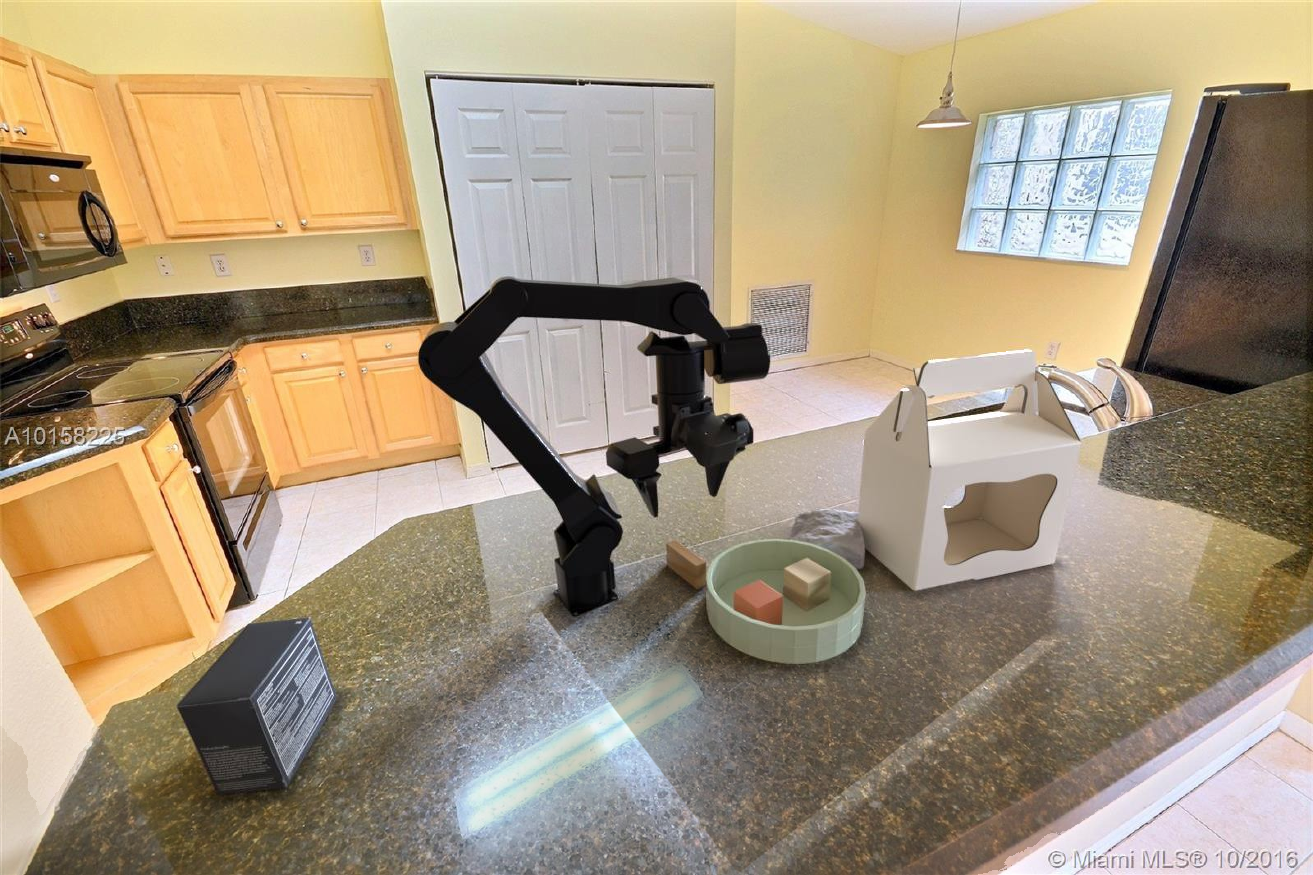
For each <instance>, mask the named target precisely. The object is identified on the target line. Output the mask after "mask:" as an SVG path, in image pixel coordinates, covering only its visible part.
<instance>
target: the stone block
mask: <svg viewBox="0 0 1313 875" xmlns="http://www.w3.org/2000/svg"><path fill="white" fill-rule="evenodd" d="M857 519H858V511H847V510H841V509H839V510H838V509H834V508H831V509H830V508H824V509H823V508H818V509H812V510H808V511H804V512H803V513H799V514H798V515H797V516H795V518H794V523H793V526H792V528H791V531H790V537H789V540H796V541H801V542H806V543H810V544H814V545H817V546H819V547H822V548H825V549H828V550H830V551H832V552H834V553H835V554H837V555H839V556H841V557H843V558H844V559H846V560H847V561H848V562H849V563H850V564H851V565H853V566H854V567H855V568H856V569H857V570H862V569H864V567H865V556H866V554H865V553H866V548H865V544H864V537H863V532H862V529H861V527H860V523H859V522H858V521H857Z"/></svg>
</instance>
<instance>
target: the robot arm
mask: <svg viewBox="0 0 1313 875" xmlns="http://www.w3.org/2000/svg"><path fill="white" fill-rule="evenodd" d="M710 307H711V302H710V298H709V296H708V293H707V292H706V291H705V289H704V288H703V286H701V285H700V284H698V283H695V282H692V281H687V280H684V279H681V278H676V277H664V278H657V279H649V280H642V281H638V282H633V283H626V284H608V283H607V284H606V283H588V282H574V281H573V282H571V281H570V282H569V281H556V280H554V281H553V280H535V279H522V278H521V279H520V278H517V277H514V276H501V277H500V278H499V277H498V278H497V279H495V281H494V282H493V283H492V284H491V286H490V288H489V289H488V290H487V291H486V292H484V294H482V296H480V297H479V298H478V299H477V300H475V302H473V303H472V304H471V305H470V306H469V307H467V308H466V309H465V310H464V311H463V312H461V314H460V315H459V316H458V317H457V318H456V319H454V321H445V322H440V323H438V324H436V325H434V326H433V327H432V328H431V329H430V330H429V331H428V332H427V334H426V335H425V337H424V339H423V340H422V342H421V345H420V346H419V349H418V356H417V362H418V367H419V369H420V371H421V372H422V374H423V376H424V377H425V378H426V379H428V381H429V382H431V383H432V384H433V385H434V386H436V387H437V388H438V389H439V390H440V391H441V392H443V393H444V394H445V395H447V396H448V397H450V399H452V400H454V401H455V402H457V403H459V404H460V405H462V406H464V407H465V408H467V409H469V410H470V411H472V412H473V413H475V414H476V415H477V416H478V417H479V419H481V421H482V422H483V423H484V424H485V425H486V427H487V428H488V430H490V431H491V432H492V433H493V434H494V436H495V437H496V439H498V441H499V442H500V443H501V444H502V446H504V447H505V448H506V449H507V451H508V452H509V453H510V454H511V455H512V456H513V458H514V459H515V460H516V461H517V462H518V463H519V465H521V467H522V468H523V469H524V470H525V471H526V472H527V474H528V475H529V476H530V477H531V478H532V479H533V480H534V481H535V483H536V484H537V485H538V486H539V487H540V489H541V490H542V491H544V493H545V494H546V496H548V498H549V499H550V500H551V501H552V502H553V504H554V506H555V507H556V509H557V511H558V513H559V516H560V517H561V519H562V521H561V523H559V525H558V526H557V527H556V528H555V529H554V531H553V534H554V539H555V544H556V548H557V553H558V557H556V558H554V567H555V576H556V584H557V589H556V590H554V591H553V594H554V595H555V597H556V598H557V599H558V600H559V601H560V603H561V604H562V605H563V607H564V608H565V609H566V610H567V611H568V612H569V614H570V615H571V616H572V617H579V616H581V615H584V614H585V613H589V612H591V611H593V610H596V609H598V608H601V607H603V606H605V605H608V604H611V603H613V602H615V601H617V600H619V599H620V596H619V595H618V593H616V592H615V590H616V588H617V587H616V576H615V575H616V574H615V562H614V561H613V560H612V559H611V557H612V554H613V551H614V550H615V549H616V548H617V547H618V546H619V545H620V543H621V541H622V539H623V534H624V528H623V526H622V524H621V522H620V520H619V519H622V518H623V516H622V514H621V512H620V509H619V508H618V504H617V503H616V501H615V499H614V497H613V495H612V493H611V492H610V491H607V490H605V488H604V487H602V485H601V483H600V482H599V479H598V478H597V476H596V474H595V473H594V474H592V475H591V476H590V477H589V478H588V479H587V480H585V479H583V478H582V477H581V476H579V475H577V474H576V473H575V472H574V471H573V470H572V469H571V467H570V466H569V465H568V464H567V462H566V461H565V460H564V459H563V458H562V456H561V455H560V454H559V453H558V452H557V451H556V449H555V448H554V447H553V445H552V444H551V443H550V442H549V441H548V439H547V438H546V437H545V436H544V435H543V434H542V432H541V431H540V430H539V429H538V427H537V426H536V425H535V424H534V423H533V422H532V420H531V419H530V418H529V416H528V415H527V414H526V412H524V410H523V409H522V408H521V407H520V405H519V404H518V403H517V402H516V401H515V399H514V398H513V397H512V396H511V395H510V393H509V392H508V391H507V389H505V387H504V386H503V384H502V383H501V380H500V378H499V376H498V374H497V373H496V371H495V368H494V366H493V364H492V362H491V361H490V359H489V357H488V355H487V353H486V352H487V351H488V350H489V349H490V348H491V347H492V346H493V345H494V344H495V342H496V341H497V340H498V339H499V338H500V337H501V336H503V334H504V332H506V331H507V329H508V328H509V327H510V326H511V325H512V324H513V323H514V322H515V321H516V320H517V319H519V318H532V319H533V318H534V319H557V320H558V319H559V320H585V321H607V322H627V323H629V324H635V325H639V326H641V327H646V328H650V329H654V330H657V331H661V332H666V333H670V334H674V335H673V336H663V337H660V336H659V334H658V333H656V332H654V331H652V330H650V331H649V332H648V334H647V336H646V337H645V339H643V340H642V341H641V343H639V344H638V345H637V347H636V349H637V351H638V352H640V353H641V354H642V355H643V356H644V357H655V374H656V375H655V378H656V379H655V380H656V393H654V394H651V404H653V405H655V406H657V418H658V419H657V420H658V421H657V422H658V425H655V426H652V434H653V435H654V436H655V437H657V438H658V440H657V441H655V442H650V443H648V442H645V441H643V440H641V439H639V438H638V437H631V438H630V437H629V438H626V439H623V440H619V441H615V442H611V443H610V444H609V445H608V447H607V449H606V451H605V458H606V459H605V460H606V466H607V467H609V468H611V469H612V470H613V471H615V472H617V473H618V474H620V475H621V476H622V477H624V478H626V479H627V480H631V481H632V482H633V484H634V485H635V487H636V490H637V491H638V493H639V495H640V497H641V499H642V501H643V503H644V504H645V507H646V509H648V512H649V514H650V516H652V517H653V518H658V517H659V495H658V494H659V492H658V481H659V479H660V478H661V477H662V473H661V472H659V471H657V470H658V468H659V467H660V458H663V457H667V456H670V455H674V454H677V453H681V452H683V451H688V452H689V453H690V455H691V456H692V457H693V458H694V459H695V460H696V463H698V465H700V466H701V467H702V468H704V471H705V479H706V486H707V490H708V494H709V496H710V497H713V498H716V497H717V496H718V494H719V490H720V489H721V486H722V482H723V480H724V477H725V475H726V472H727V469H728V467H729V465H730V463H731V462H732V461H733V460H734V459H735V457H736V456H737V455H739V454H741V453H743V452H745V451H746V449H747V446H749V445H752V444H754V441H755V438H754V437H755V435H754V433H755V429H754V427H753V425H752V424H751V423H750V421H749V418H748V417H747V416H746V415H744V414H743V413H742V412H738V413H736V414H730V413H727V412H725V413H722V414H718V415H716V413H715V410H714V401H713V397H711V396H709V395H706V380H705V379H706V375H707V376H708V377H710V378H713V380H714V381H715V383H716V384H717V385H725V384H726V385H727V384H734V383H742V382H750V381H757V380H758V381H760V380H764V379H766V377H767V376H768V375H769V371H770V368H771V354H770V353H769V347H768V344H767V342H766V339H765V337H764V335H763V326H762V325H761V324H759V323H756V322H747V323H743V324H740V325H734V326H722V324H721V323H720V322H719V320H718V319H717V318H716V316H715V315H714V314H713V312H712V310H711V308H710ZM675 334H676V335H675ZM689 335H695V336H697V337H699V338H701V339H703V340H697V341H689V340H688V339H687V337H686V336H689ZM614 597H616V598H614Z"/></svg>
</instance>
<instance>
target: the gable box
mask: <svg viewBox="0 0 1313 875" xmlns="http://www.w3.org/2000/svg"><path fill="white" fill-rule="evenodd" d="M1036 364H1037V354H1036V352H1035V351H1034V350H1030V349H1024V350H1015V351H1014V350H1013V351H1006V352H997V353H988V354H987V353H986V354H980V355H971V356H962V357H953V358H944V359H935V360H934V359H933V360H928V361H926V362H924V363H923V364H922V365H921V367H914V368H912V370H913V375H914V382H915V384H909V385H906V386H905V387H902V389H900V391H899V392H898V393H897V394H896V396H895V397H894V398H893V399H892V400H891V401H890V402H889V404H887V406H886V407H885V408H884V410H883V411H881V413H880V414H879V415H878V416H877V417H876V418H875V420H873V422H872V423H871V424H870V425H869V427H867V429H866V430H865V431H864V441H863V449H862V450H863V451H862V461H861V476H860V487H859V497H858V507H857V508H858V509H857V512H858V519H857V521H858V522H859V523H860V527H861V529H862V532H863V537H864V544H865V550H867V552H869V553H870V554H871V555H872V556H873V557H875V558H876V560H878V561H879V562H880V563H882V565H884V566H885V567H886V568H887V569H888V570H889V571H890V572H892V573H893V574H894V575H896V577H897V578H898V579H900V580H901V581H902V582H903V583H904V584H905V585H907V586H908V587H909V588H910V589H911V590H912V591H915V592H916V591H920V590H924V589H930V588H936V587H939V586H944V585H949V584H952V583H953V584H954V583H958V582H962V581H968V580H972V579H973V580H976V581H979V580H983V579H987V578H992V577H997V576H1002V575H1006V574H1012V573H1016V572H1020V571H1025V570H1030V569H1034V568H1039V567H1040V568H1041V567H1044V566H1049V565H1053V564H1055V563H1056V559H1057V555H1058V551H1059V550H1058V549H1059V546H1060V541H1061V536H1062V532H1063V527H1064V523H1065V520H1066V519H1065V518H1066V514H1067V511H1068V506H1069V502H1070V501H1069V500H1070V497H1071V492H1072V488H1073V484H1074V479H1075V475H1076V471H1077V467H1078V462H1079V458H1080V454H1081V449H1082V444H1083V443H1082V441H1081V438H1080V436H1079V435H1078V433H1077V430H1076V429H1075V427H1074V425H1073V423H1072V422H1071V419H1070V418H1069V415H1068V413H1067V412H1066V410H1065V407H1064V406H1063V403H1062V402H1061V400H1060V398H1059V396H1058V394H1057V393H1056V391H1055V389H1054V386H1053V384H1052V383H1051V381H1050V380H1049V372H1048V371H1038V370H1036ZM1007 388H1012V390H1011V392H1010V393H1009V395H1008V396H1007V397H1008V398H1007V399H1006V401H1005V402H1004V404H1003V406H1002V407H1001V409H1000V411H994V412H987V413H980V414H972V415H965V416H958V417H952V418H943V419H937V420H930V421H928V418H929V417H928V404H927V403H928V402H927V399H933V398H936V397H943V396H944V397H945V396H953V395H959V394H967V393H974V392H982V391H983V392H984V391H989V390H997V389H1007ZM1037 413H1038V414H1037ZM962 487H964V493H963V497H962V500H960V502H959V503H957V504H955V505H952V506H946V505H945V504H946V502H947V499H948V497H949V496H951V494H953V493H954V492H955V491H956V490H958V489H960V488H962Z"/></svg>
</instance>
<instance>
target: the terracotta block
mask: <svg viewBox="0 0 1313 875" xmlns="http://www.w3.org/2000/svg"><path fill="white" fill-rule="evenodd" d="M782 609H783V596H782V595H781V594H779V593H778V592H776V591H775V590H773V589H772V588H771V587H769V586H768V585H766V584H765V583H763V582H762V581H760V580H758V581H756V582H753V583H751V584H749V585H747V586H745V587H743V588H741V589H738V590H736V591H734V611H736V612H738V613H740V614H742V615H745V616H747V617H749V618H751V619H754V620H758V621H761V622H765V623H769V624H773V625H782Z"/></svg>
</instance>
